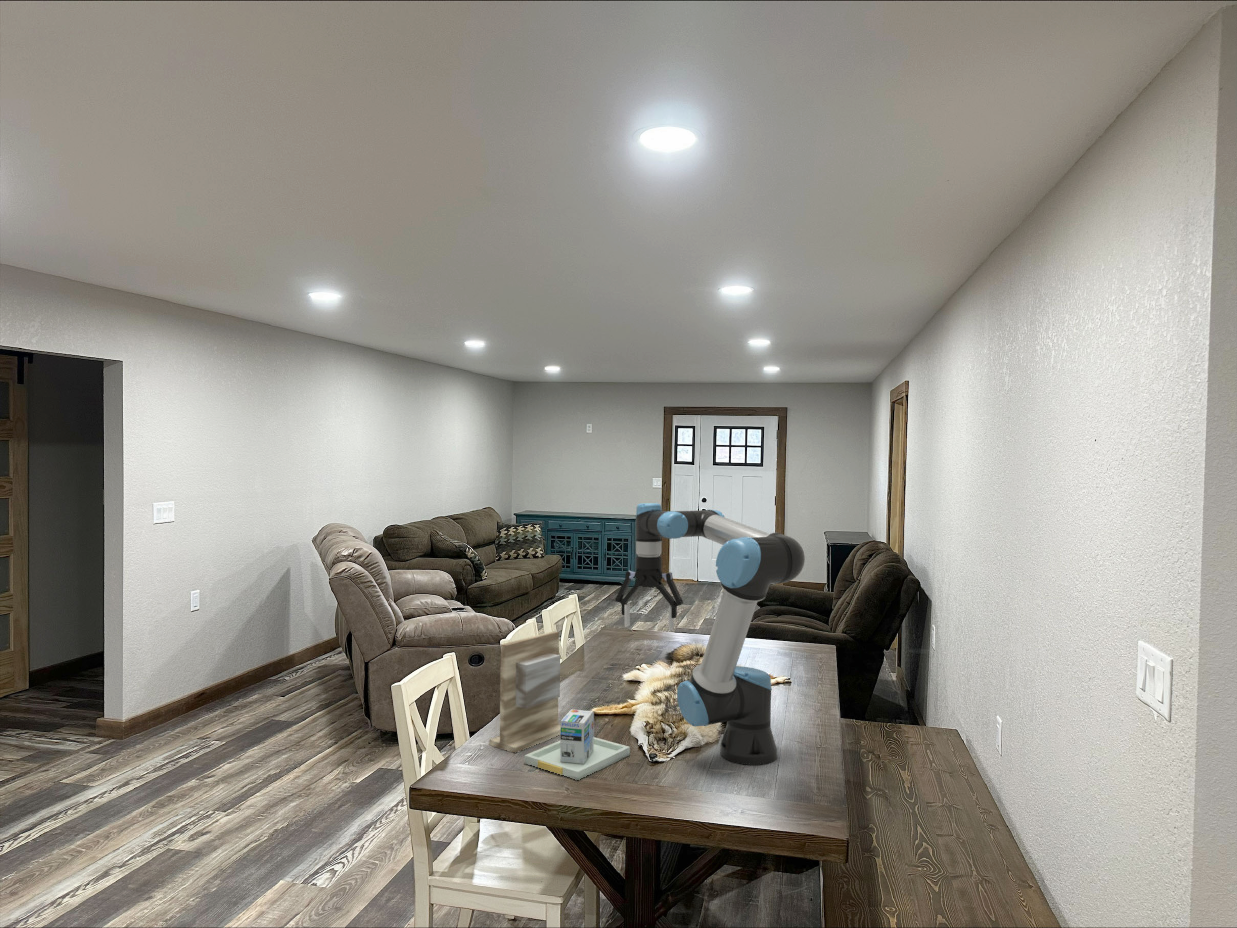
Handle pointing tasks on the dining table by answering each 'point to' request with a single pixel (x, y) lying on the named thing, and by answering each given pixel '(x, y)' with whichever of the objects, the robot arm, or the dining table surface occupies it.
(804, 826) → the dining table surface
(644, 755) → the dining table surface
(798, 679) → the dining table surface
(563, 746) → the light bulb box
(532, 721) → the wall unit
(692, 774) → the dining table surface
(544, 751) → the tray
